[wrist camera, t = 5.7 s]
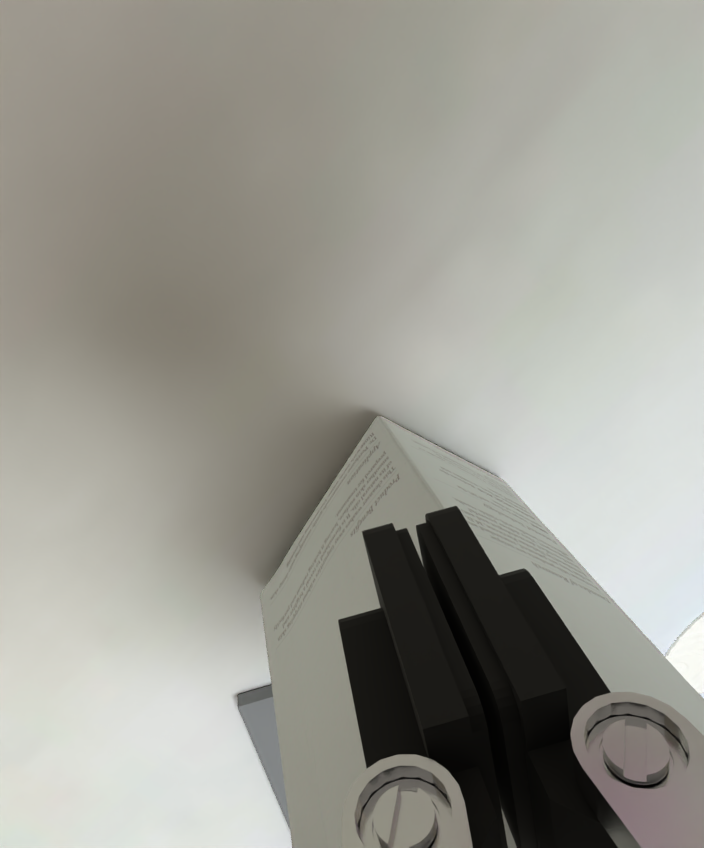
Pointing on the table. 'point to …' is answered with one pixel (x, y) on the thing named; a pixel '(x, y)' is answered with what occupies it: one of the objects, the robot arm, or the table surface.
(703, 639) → the spoon
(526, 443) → the table surface
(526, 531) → the skincare box
